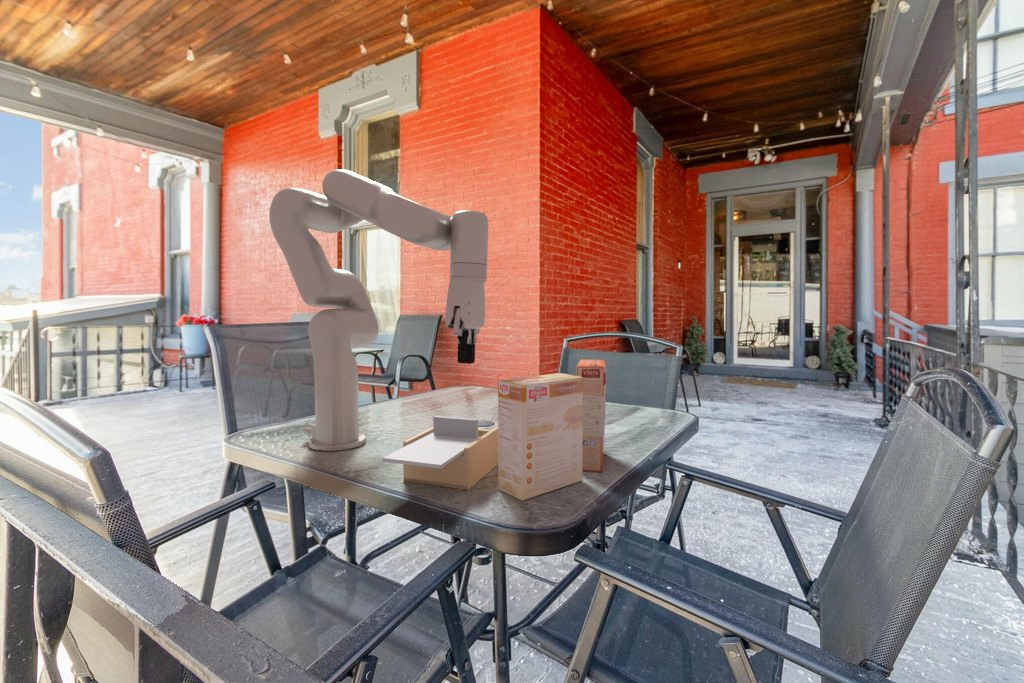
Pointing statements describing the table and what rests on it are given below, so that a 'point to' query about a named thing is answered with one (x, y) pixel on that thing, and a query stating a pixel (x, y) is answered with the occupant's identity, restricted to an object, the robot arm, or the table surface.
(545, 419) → the coffeecake box
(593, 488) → the table surface
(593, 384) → the cracker box
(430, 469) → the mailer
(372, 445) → the table surface
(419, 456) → the lid
